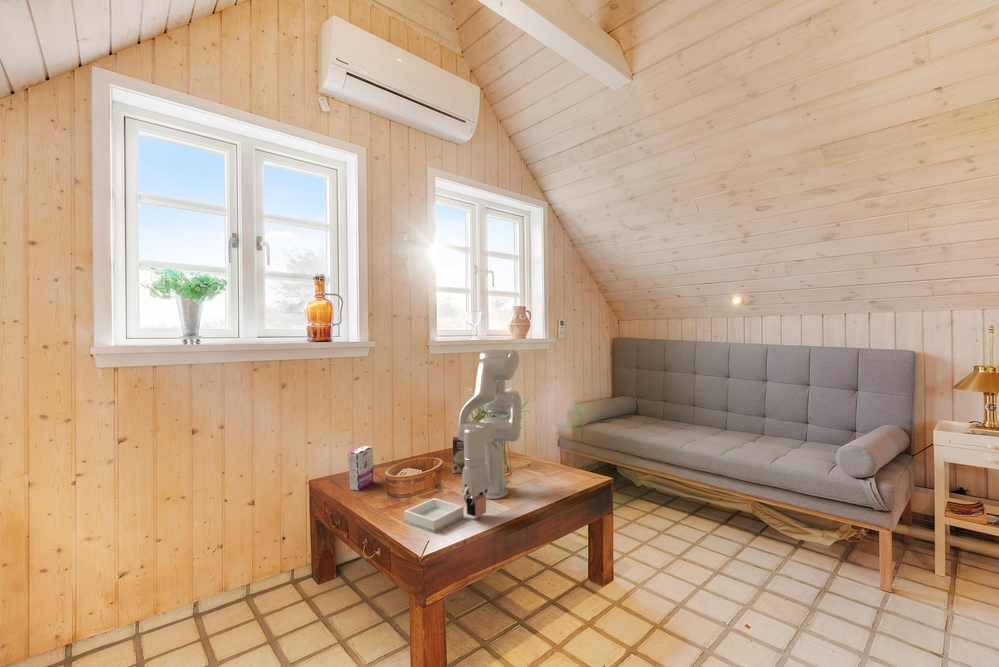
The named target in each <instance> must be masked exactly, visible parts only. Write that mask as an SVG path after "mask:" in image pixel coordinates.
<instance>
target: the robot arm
mask: <svg viewBox="0 0 999 667" xmlns="http://www.w3.org/2000/svg"><path fill="white" fill-rule="evenodd" d="M478 361H479V362H478V364H477V369H476V377H475V383H474V390H473V391H474V392H473V395H472V396H471V397H470V398H469V399H468V400H467V401H466V402H465V404H463V406H462V408H461V410H460V413H459V415H458V423H457V429H456V430H457V432H456V434H457V437H458V438H459V439H460V440H461V441H464V461H465V467H464V468H463V473H461V474H462V475H461V496H460V498H461V500H463V502H465V504H466V503H467V507H466V514H467V513H468V514H470V515H469V516H471V515H473V516H472V517H474V515H475V504H474V498H475V495H477V494H480V495H484V496H486V500H487V499H488V500H497V499H502V498H504V497H506V496H508V494H509V489H508V488H506V486H507V485H508V484H510V482H511V480H510V479H509V478H506V479H505V462H504V460H505V459H504V457H505V456H504V448H503V446H502V445H501V444H500V443H499V442H517V441H518V440H519V438H520V435H521V428H522V427H521V426H522V424H521V423H522V422H521V421H522V420H521V419H522V398H521V396H520V394H519V393H517V392H515V391H513V392H512V391H506V390H505V389H506V381H509V380H512V378H513V377H514V376H515V374H516V371H517V369H518V367H519V365H520V354H519V353H518V351H517V350H514V349H488V350H482V351H481V352H480V353H479V354H478ZM482 406H483V410H484V412H485V413H486V414H489V415H496V416H497V415H498V416H499V415H500V416H509V417H500V416H499V417H498V416H497V417H495V416H488V417H483V418H481V419H480V420H479V421H469V417H470V415H471V414H472V412H474V411H475V410H477V409H478V408H480V407H482ZM470 497H471V500H470V499H469V498H470ZM468 514H467V515H468Z"/></svg>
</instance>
